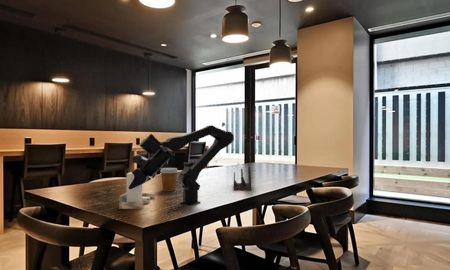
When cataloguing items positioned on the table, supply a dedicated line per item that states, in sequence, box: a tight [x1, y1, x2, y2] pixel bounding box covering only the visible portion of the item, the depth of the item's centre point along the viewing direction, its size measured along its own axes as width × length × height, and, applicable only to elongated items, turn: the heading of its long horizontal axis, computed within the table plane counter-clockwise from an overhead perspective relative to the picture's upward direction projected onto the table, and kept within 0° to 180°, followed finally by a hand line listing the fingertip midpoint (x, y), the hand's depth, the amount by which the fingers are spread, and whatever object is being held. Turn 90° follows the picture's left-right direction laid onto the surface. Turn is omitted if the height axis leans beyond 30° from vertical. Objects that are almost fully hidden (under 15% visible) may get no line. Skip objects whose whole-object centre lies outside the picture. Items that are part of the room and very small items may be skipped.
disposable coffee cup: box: [159, 167, 179, 192], centre depth 161 cm, size 10×10×12 cm
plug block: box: [126, 171, 143, 202], centre depth 123 cm, size 5×5×13 cm
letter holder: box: [233, 163, 252, 192], centre depth 172 cm, size 10×20×14 cm, turn 178°
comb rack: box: [118, 191, 156, 210], centre depth 129 cm, size 10×21×5 cm, turn 0°
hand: (131, 187), depth 123 cm, fingers closed on plug block, 5 cm apart
